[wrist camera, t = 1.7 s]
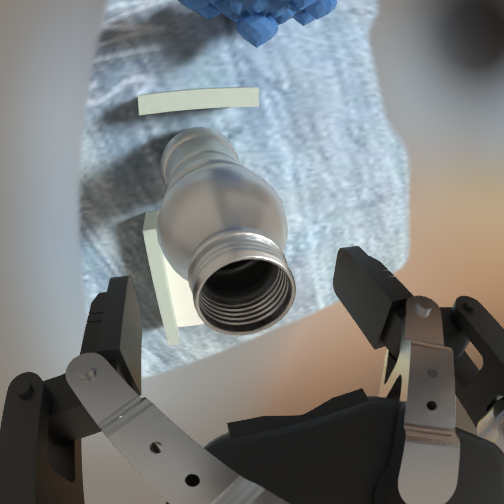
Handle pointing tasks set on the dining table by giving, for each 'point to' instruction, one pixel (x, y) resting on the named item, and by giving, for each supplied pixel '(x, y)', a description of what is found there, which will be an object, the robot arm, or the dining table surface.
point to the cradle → (168, 286)
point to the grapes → (261, 14)
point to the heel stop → (198, 99)
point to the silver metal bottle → (224, 234)
